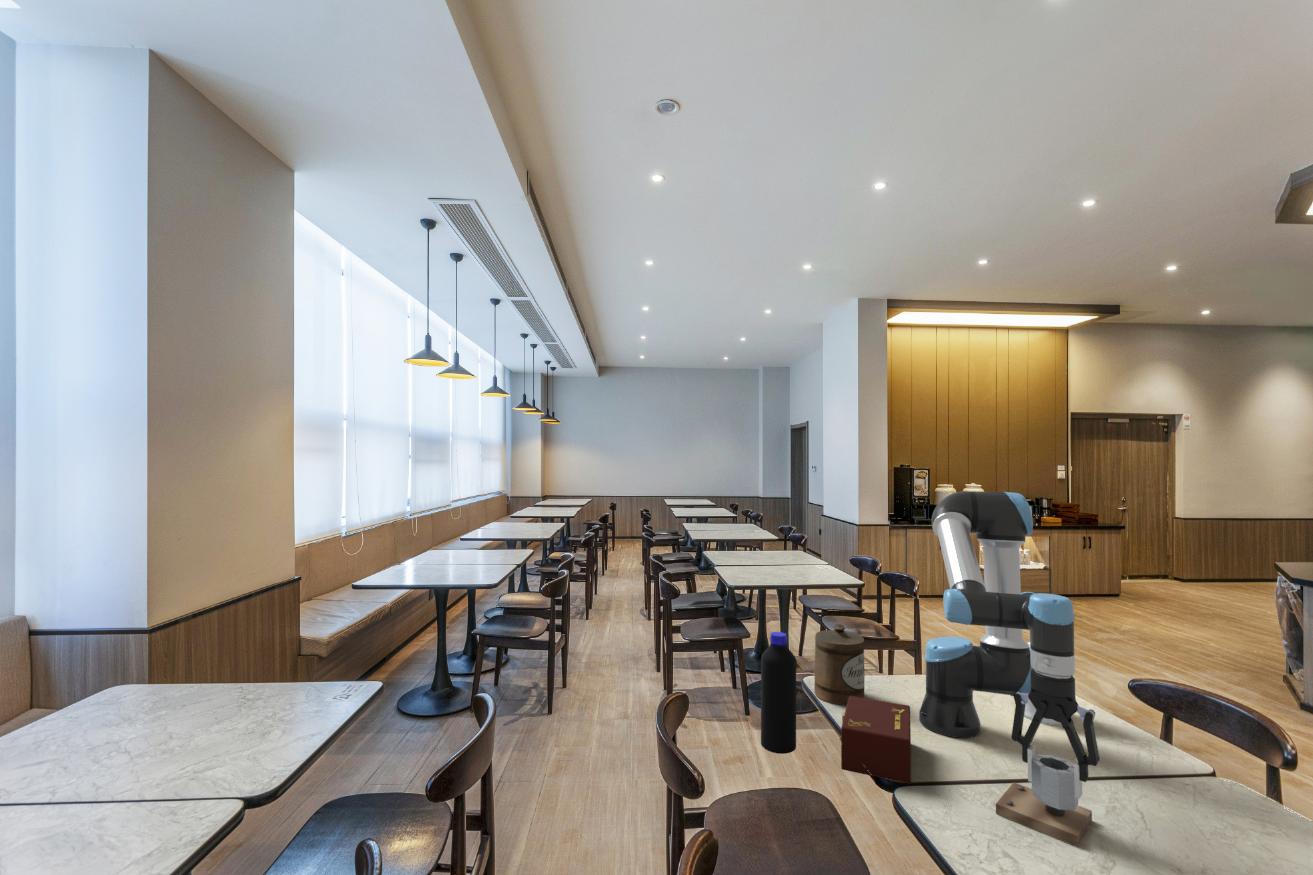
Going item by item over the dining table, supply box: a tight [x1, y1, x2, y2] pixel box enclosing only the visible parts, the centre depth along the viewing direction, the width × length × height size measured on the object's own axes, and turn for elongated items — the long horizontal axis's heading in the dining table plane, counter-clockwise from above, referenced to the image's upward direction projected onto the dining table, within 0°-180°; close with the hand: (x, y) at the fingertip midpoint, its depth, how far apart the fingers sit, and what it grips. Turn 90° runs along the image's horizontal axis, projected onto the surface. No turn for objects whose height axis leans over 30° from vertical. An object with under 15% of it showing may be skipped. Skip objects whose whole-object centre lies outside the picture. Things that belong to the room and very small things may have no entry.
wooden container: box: [814, 623, 866, 706], centre depth 180 cm, size 15×15×22 cm
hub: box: [1031, 754, 1079, 810], centre depth 117 cm, size 7×7×7 cm
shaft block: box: [995, 782, 1093, 848], centre depth 118 cm, size 14×12×9 cm
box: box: [839, 696, 912, 785], centre depth 143 cm, size 21×16×10 cm
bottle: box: [760, 631, 797, 755], centre depth 147 cm, size 9×9×28 cm
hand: (1054, 787), depth 117 cm, fingers closed on hub, 7 cm apart
